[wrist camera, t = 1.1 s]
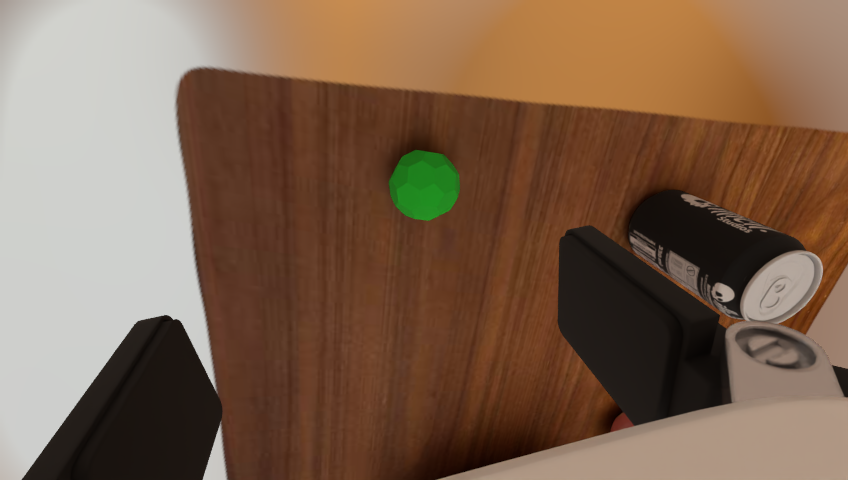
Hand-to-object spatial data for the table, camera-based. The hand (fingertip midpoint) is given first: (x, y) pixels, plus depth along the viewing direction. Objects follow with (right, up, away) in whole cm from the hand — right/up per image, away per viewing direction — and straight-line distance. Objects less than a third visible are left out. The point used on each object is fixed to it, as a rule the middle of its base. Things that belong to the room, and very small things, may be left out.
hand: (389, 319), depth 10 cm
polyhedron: (0, +7, +21) cm, 22 cm away
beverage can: (+22, +4, +27) cm, 35 cm away
